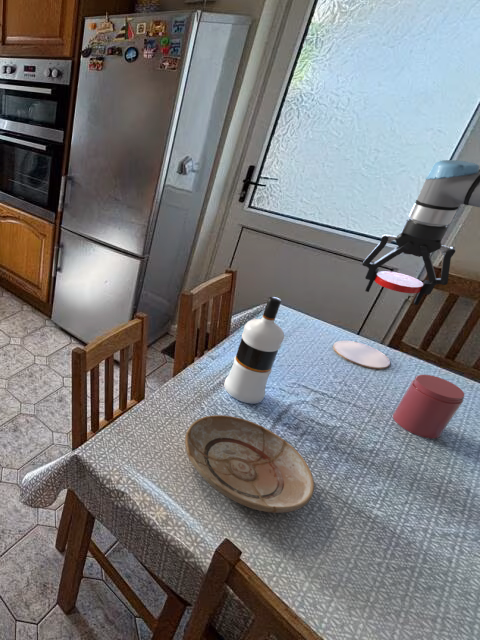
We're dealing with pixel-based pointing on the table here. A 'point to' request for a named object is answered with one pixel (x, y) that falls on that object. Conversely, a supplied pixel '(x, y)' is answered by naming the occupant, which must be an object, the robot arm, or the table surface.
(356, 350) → the coaster
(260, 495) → the ceramic bowl
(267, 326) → the vodka
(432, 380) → the jam jar
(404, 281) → the lid
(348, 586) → the table surface
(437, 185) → the robot arm
